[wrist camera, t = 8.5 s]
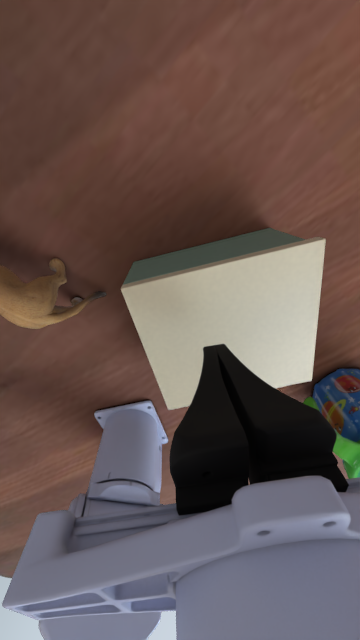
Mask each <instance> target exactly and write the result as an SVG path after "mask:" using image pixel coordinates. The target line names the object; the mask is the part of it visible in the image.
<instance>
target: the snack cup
mask: <svg viewBox="0 0 360 640" xmlns="http://www.w3.org/2000/svg"><path fill="white" fill-rule="evenodd" d="M303 404H306V405H308V406H310V407H313V408H315V409H317V410H319V411H320V413H321V414H322V415H323V416H324V417H325V418H326V419H327V420H328V422H329V423H330V424H331V426H332V427H333V428H334V430H335V432H336V434H337V437H336V442H335V445H334V448H333V452H334V453H335V454H336V455H338V456H339V457H340V458H341V459H343V465H344V468H345V470H346V472H347V475H348V477H349V479H351V478H358V477H360V369H337V371H336V372H333V373H331V374H329V375H327V376H326V377H325V378H323V379H322V380H321V381H320V382H319V383H318V384H315V387H314V392H313V398H312V397H308V398H306V399H305V401H304V402H303Z"/></svg>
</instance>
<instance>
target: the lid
mask: <svg viewBox="0 0 360 640" xmlns="http://www.w3.org/2000/svg"><path fill="white" fill-rule="evenodd" d="M325 242H326V239H325V238H321V237H315V238H311V239H307V240H303V241H299V242H295V243H291V244H286V245H282V246H278V247H274V248H270V249H266V250H262V251H258V252H254V253H250V254H246V255H242V256H238V257H234V258H230V259H225V260H221V261H217V262H213V263H209V264H205V265H201V266H197V267H193V268H189V269H185V270H181V271H177V272H173V273H169V274H164V275H160V276H156V277H152V278H148V279H144V280H140V281H136V282H132V283H128V284H124V285H122V287H121V291H122V294H123V296H124V299H125V301H126V304H127V307H128V309H129V312H130V314H131V317H132V319H133V322H134V324H135V327H136V329H137V332H138V334H139V337H140V339H141V342H142V344H143V347H144V350H145V352H146V355H147V357H148V360H149V362H150V365H151V367H152V370H153V372H154V375H155V377H156V380H157V382H158V385H159V387H160V390H161V392H162V395H163V398H164V400H165V403H166V405H167V408H168V410H172V409H177V408H182V407H186V406H190V404H191V402H192V400H193V397H194V395H195V392H196V390H197V387H198V383H199V380H200V376H201V372H202V366H203V356H204V354H203V348H204V347H206V346H212V345H218V344H225V345H226V346H227V347H228V348H229V350H230V351H231V352H232V353H233V354H234V355H235V356H236V357H237V358H238V359H239V360H240V361H241V362H242V363H243V364H244V365H245V366H246V367H247V368H248V369H249V370H250V371H252V372H253V373H254V374H255V375H256V376H258V377H259V378H260V379H262V380H263V381H265V382H266V383H267V384H269V385H270V386H272V387H273V388H279V387H284V386H289V385H294V384H298V383H303V382H308V381H312V374H313V364H314V354H315V343H316V333H317V323H318V313H319V303H320V293H321V282H322V272H323V262H324V252H325Z"/></svg>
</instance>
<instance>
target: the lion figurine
mask: <svg viewBox="0 0 360 640" xmlns="http://www.w3.org/2000/svg"><path fill="white" fill-rule="evenodd" d="M49 267H50V269H51V270H53V271H55V272H56V273H55V274H54V275H50V276H44V277H38V278H36V279H35V280H33V281H31V282H29V283H27V284H26V283H24V282H22V281H21V280H20V278H19V277H17V276H16V275H15V274H14V273H13V272H12V271H11V270H9V269H8V268H6V267H4V266H2V265H0V314H1V315H2V316H3V317H4V318H6V319H7V320H8V321H10V322H12V323H14V324H16V325H18V326H20V327H24V328H33V329H39V328H42V327H45V326H47V325H48V324H54V323H58V322H61V321H64V320H66V319H68V318H70V317H71V316H75V315H77V314H78V313H79V312H80V311H82V310H83V309H84V307H85V305H87V304H88V303H89V302H91V301H92V300H94V299H96V298H100V297H104V296H106V293H105V292H101V291H98V292H95V293H93V294H91V295H89V296H88V297H86V298H85V299H84V300H83V299H81V298H78V297H75V298H73V299H72V300H71V303H72V306H69V307H63V306H55V303H56V299H57V294H58V288H59V286H60V285H62V284H65V283H66V281H67V278H66V274H65V266H64V264H63V262H62V261H61V260H59V259H57V258H54V259H52V260H51V261H50V264H49Z"/></svg>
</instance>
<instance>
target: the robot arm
mask: <svg viewBox="0 0 360 640" xmlns="http://www.w3.org/2000/svg"><path fill="white" fill-rule="evenodd" d="M203 354H204V356H203V366H202V372H201V376H200V380H199V383H198V387H197V390H196V392H195V395H194V397H193V400H192V402H191V404H190V407H189V408H188V410H187V412H186V414H185V416H184V418H183V420H182V421H181V423H180V424H179V426H178V428H177V429H176V431H175V433H174V437H173V441H172V445H171V451H170V473H171V475H172V478H173V481H174V484H175V487H176V503H175V504H168V505H163V504H160V489H161V467H162V444H165V443H167V442H168V438H167V435H166V433H165V431H164V429H163V426H162V424H161V422H160V420H159V417H158V415H157V413H156V411H155V408H154V406H153V404H152V402H151V401H149V400H148V401H143V402H138V403H133V404H128V405H123V406H118V407H113V408H109V409H104V410H99V411H96V412H95V414H94V416H95V418H96V419H97V421H98V422H99V424H100V425H101V427H102V428H103V434H102V438H101V442H100V445H99V449H98V453H97V457H96V460H95V464H94V468H93V472H92V476H91V479H90V483H89V487H88V490H87V492H86V494H82V493H81V494H79V495H78V497H76V498H75V499H73V500H72V502H71V504H70V507H69V509H68V510H59V511H52V512H45V513H40V514H38V515H37V518H36V520H35V523H34V525H33V528H32V530H31V533H30V535H29V538H28V540H27V543H26V545H25V548H24V550H23V553H22V555H21V558H20V560H19V563H18V565H17V568H16V570H15V573H14V575H13V578H12V580H11V583H10V585H9V588H8V590H7V593H6V595H5V598H4V600H3V603H2V606H3V607H4V608H6V609H9V610H12V611H14V612H17V613H20V614H23V615H25V616H28V617H31V618H34V619H37V620H39V630H40V632H41V635H42V636H43V638H44V640H147V639H148V638H149V637H150V635H151V634H152V633H153V631H154V630H155V629H156V627H157V626H158V624H159V622H160V620H161V612H162V611H176V629H177V630H176V631H177V640H360V477H358V478H351V479H345V478H344V476H343V474H342V473H341V471H340V470H339V468H338V466H337V464H338V462H337V459H336V458H335V456H334V455H333V453H332V451H333V448H334V445H335V442H336V437H337V434H336V432H335V430H334V428H333V427H332V426H331V424H330V423H329V422H328V420H327V419H326V418H325V417H324V416H323V415H322V414H321V413H320V411H319V410H317V409H315V408H313V407H310V406H308V405H306V404H303V403H301V402H299V401H297V400H295V399H293V398H291V397H289V396H287V395H285V394H284V393H282V392H280V391H278V390H277V389H275V388H273V387H272V386H270V385H269V384H267V383H266V382H265V381H263V380H262V379H260V378H259V377H258V376H256V375H255V374H254V373H253V372H252V371H250V370H249V369H248V368H247V367H246V366H245V365H244V364H243V363H242V362H241V361H240V360H239V359H238V358H237V357H236V356H235V355H234V354H233V353H232V352H231V351H230V350H229V348H228V347H227V346H226V345H225V344H218V345H212V346H206V347H204V348H203ZM248 478H249V482H250V485H248Z"/></svg>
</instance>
